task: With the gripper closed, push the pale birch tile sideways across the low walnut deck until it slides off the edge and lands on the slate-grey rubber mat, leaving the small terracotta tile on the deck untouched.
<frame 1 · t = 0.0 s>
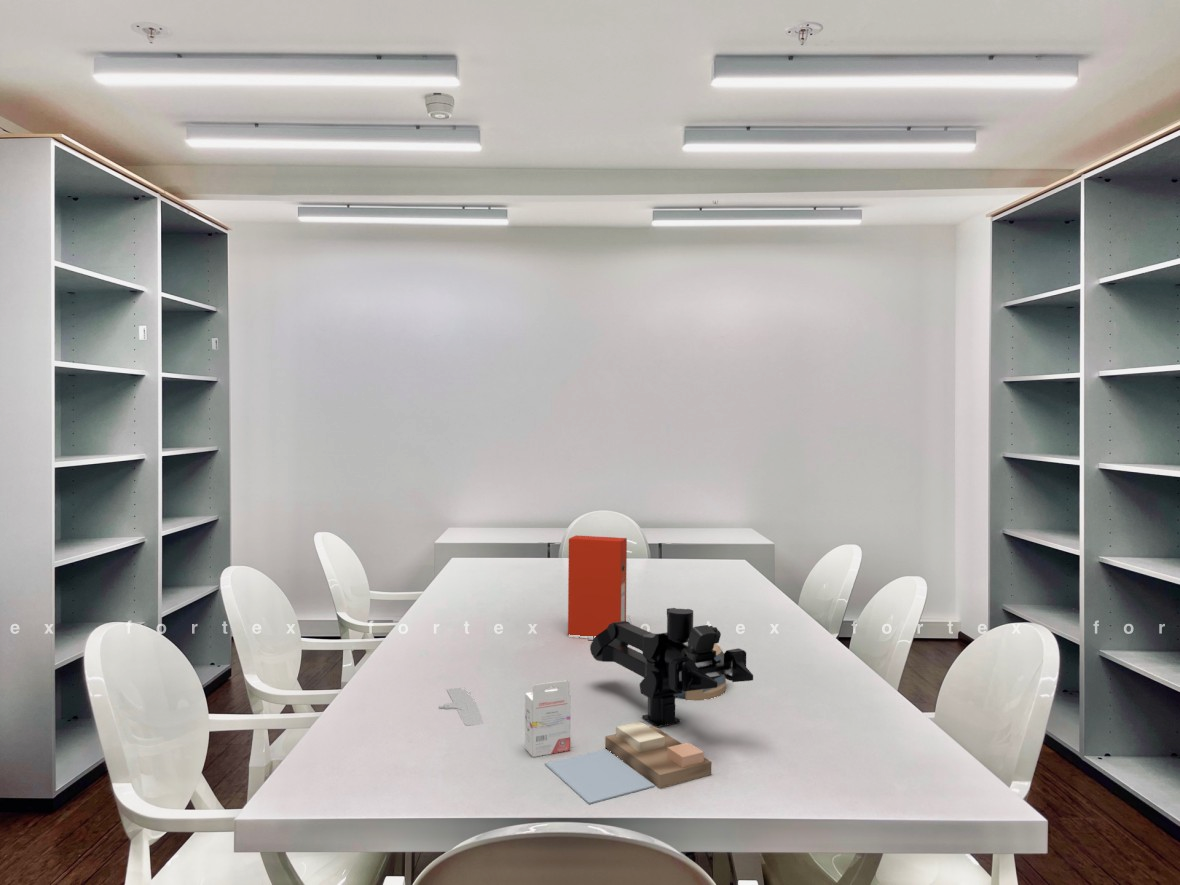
hand: (734, 681, 148), 17 cm above the table, tool horizontal, fingers open, 9 cm apart
grey flat piece: (487, 705, 181), on the table
ink cartridge box: (547, 750, 154), on the table
terracotta tile: (685, 759, 144), point 2 cm above the table, touching deck
file binder: (596, 637, 241), on the table
alarm clock: (686, 688, 194), on the table
mat: (597, 775, 143), on the table
deck: (656, 760, 150), on the table
birch tile: (639, 741, 153), point 2 cm above the table, touching deck
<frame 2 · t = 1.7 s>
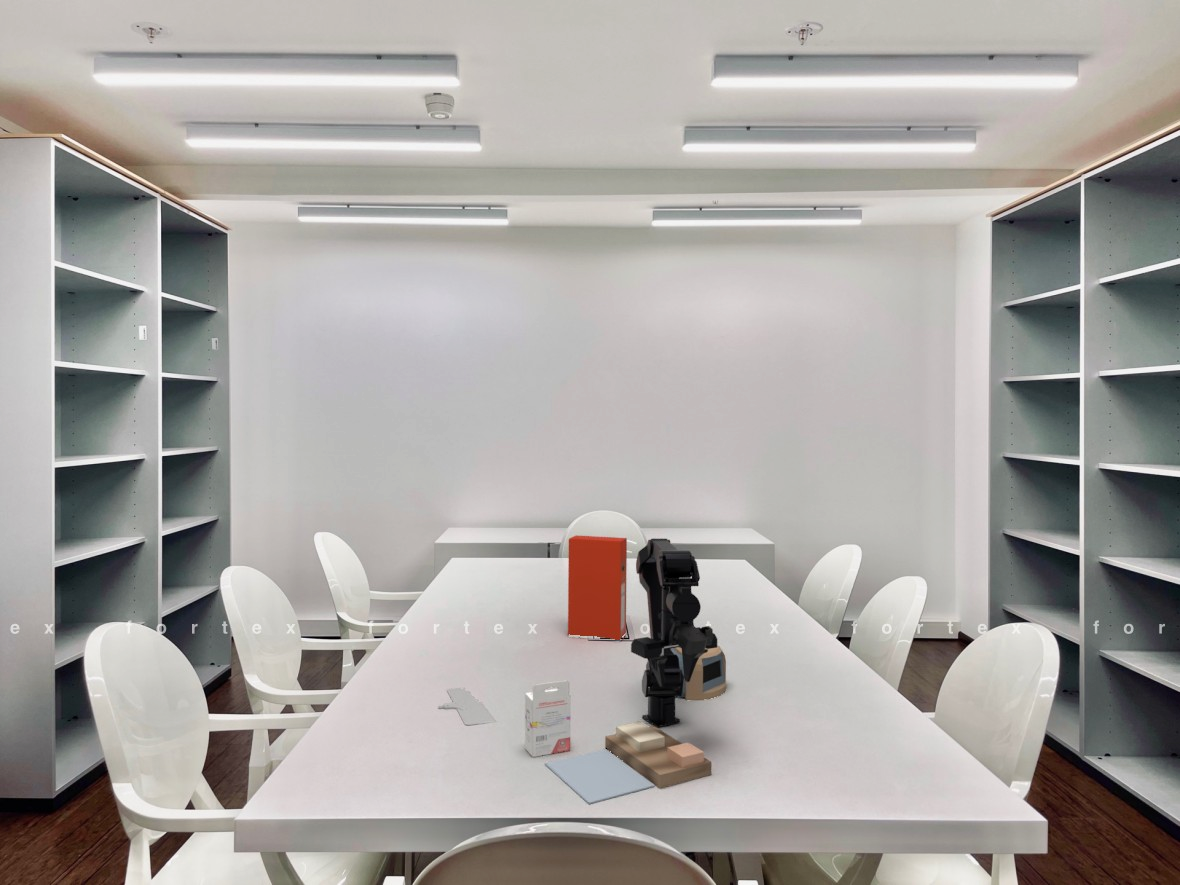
hand: (674, 683, 157), 13 cm above the table, tool pointing down, fingers open, 6 cm apart
nothing on the table moved.
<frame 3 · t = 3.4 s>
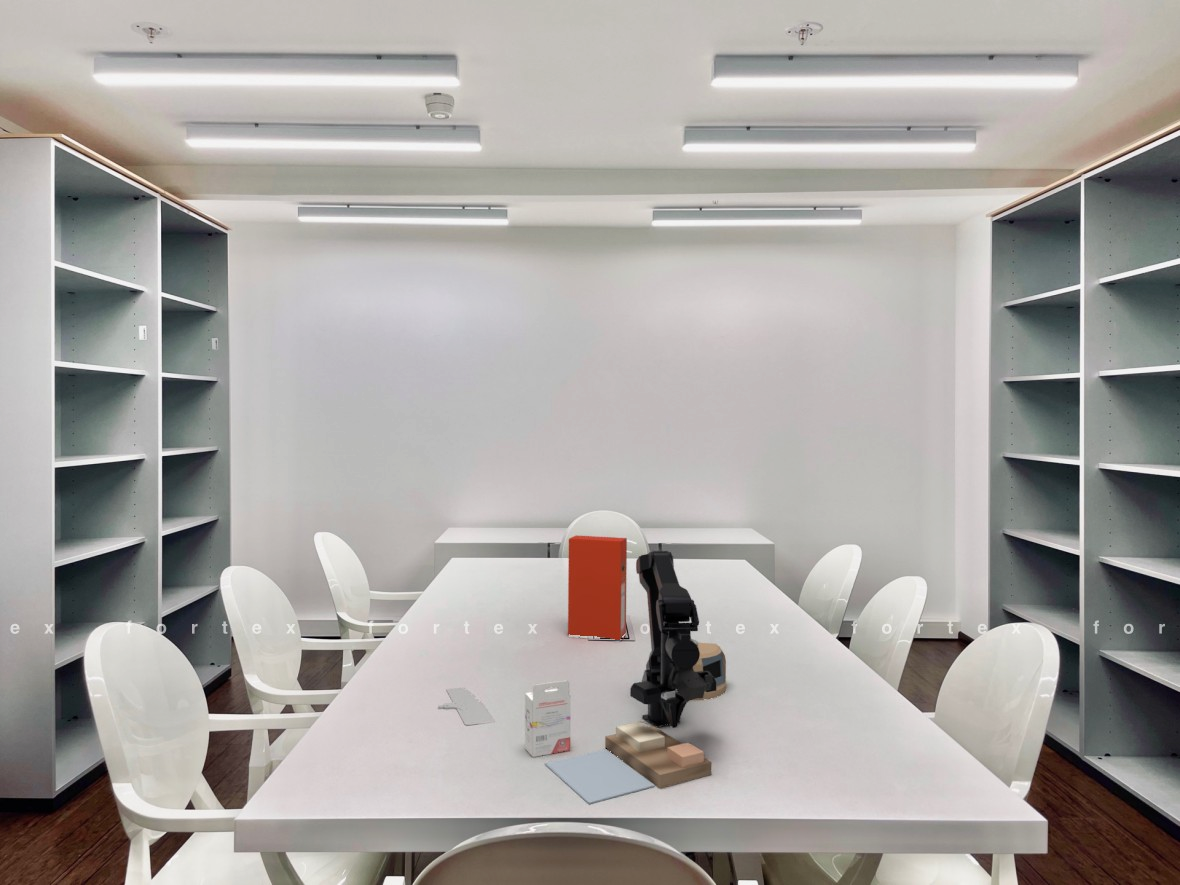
hand: (673, 727, 157), 4 cm above the table, tool pointing down, fingers closed
nothing on the table moved.
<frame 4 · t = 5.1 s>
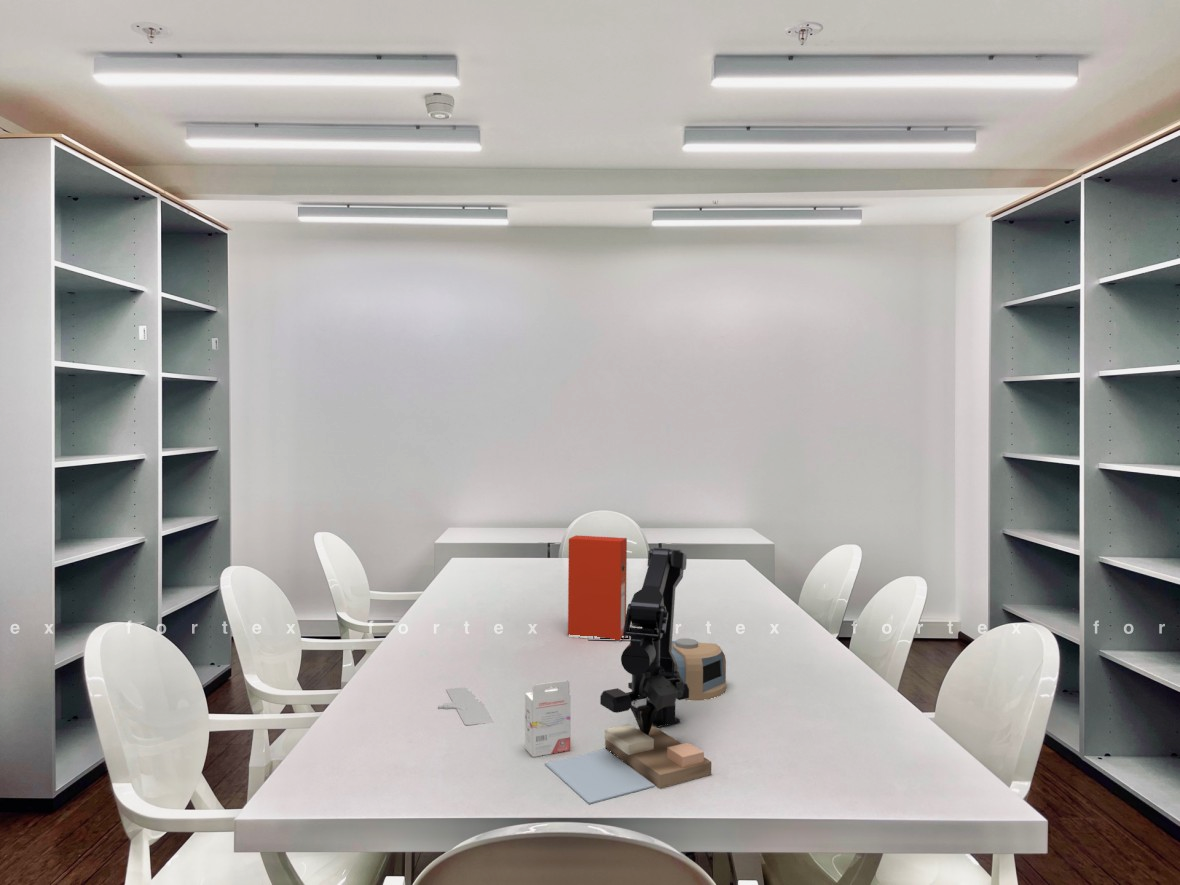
hand: (645, 735, 153), 3 cm above the table, tool pointing down, fingers closed
birch tile: (628, 743, 152), point 3 cm above the table, touching gripper
everything else where it was.
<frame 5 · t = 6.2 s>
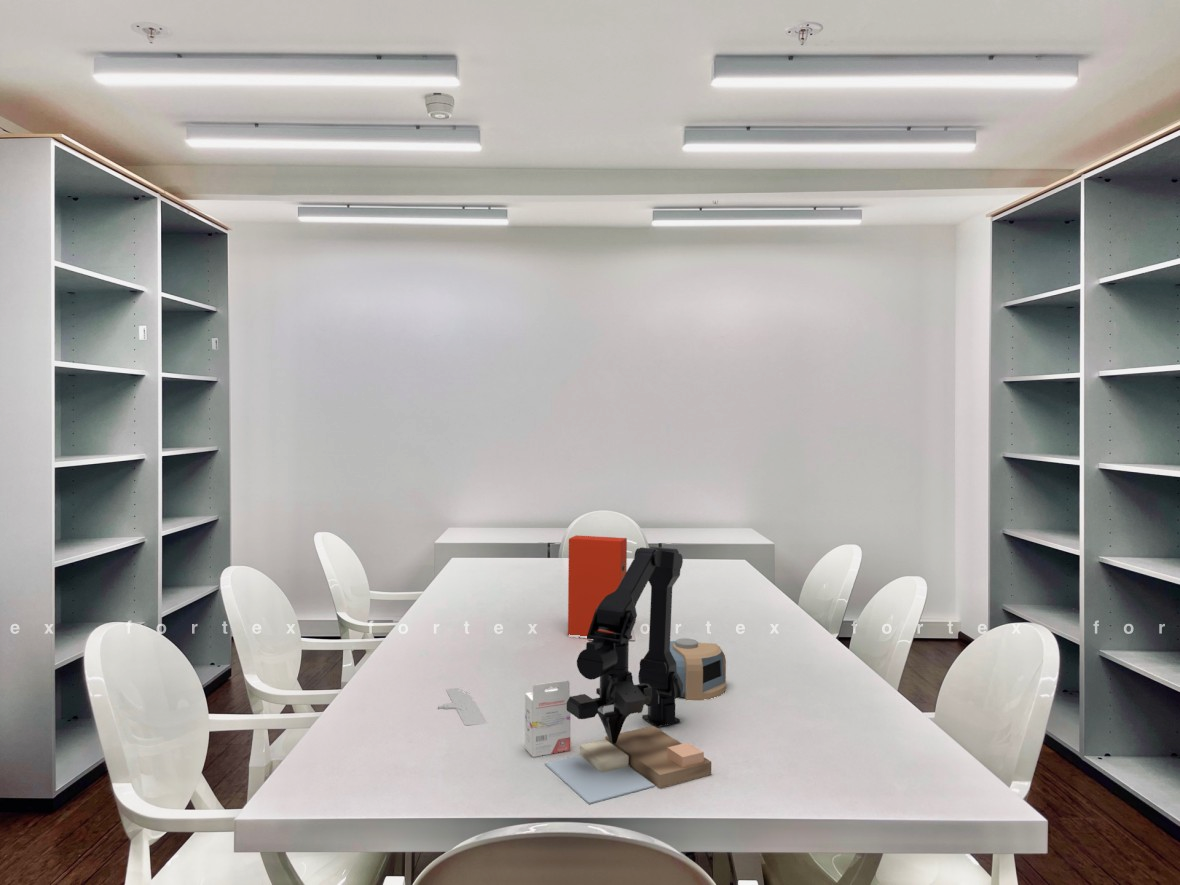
hand: (613, 743, 150), 3 cm above the table, tool pointing down, fingers closed
birch tile: (603, 760, 149), resting on mat
everything else where it was.
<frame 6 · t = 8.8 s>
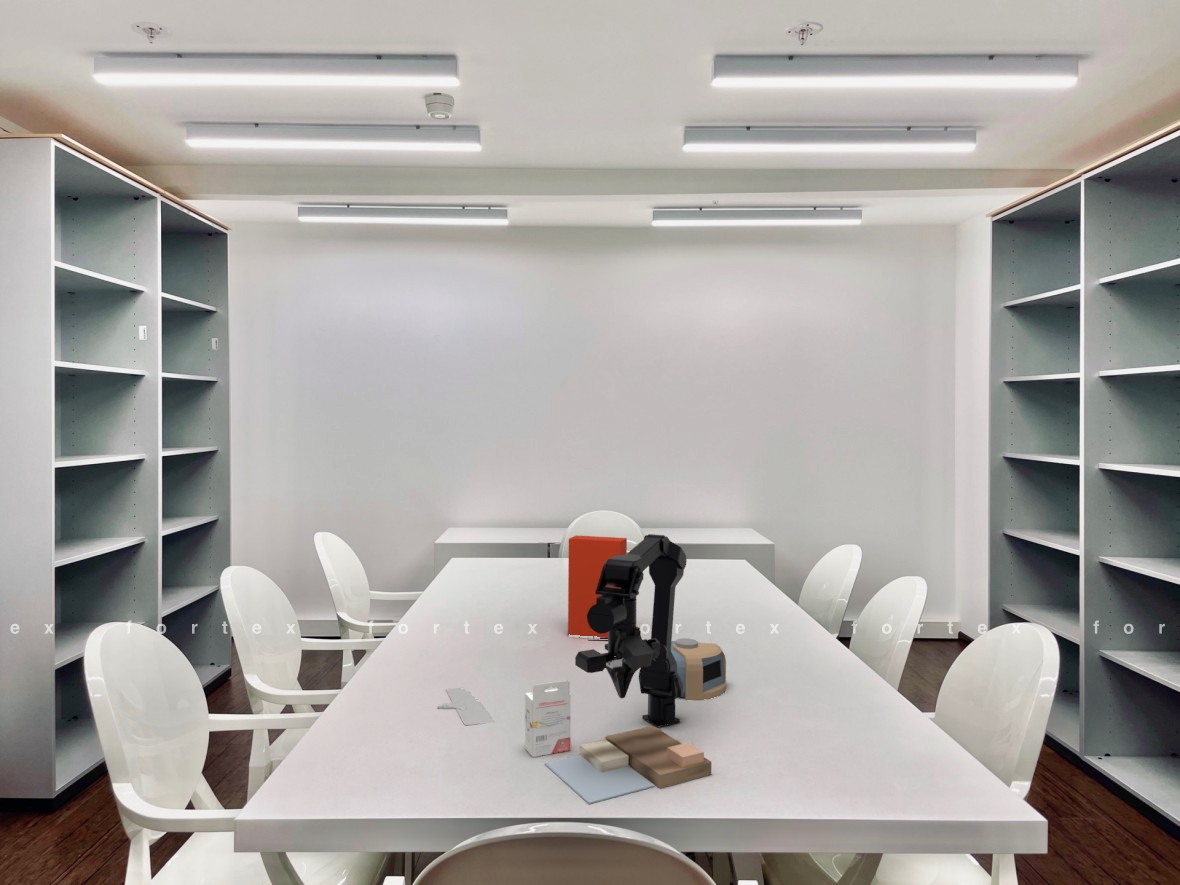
hand: (621, 697, 151), 12 cm above the table, tool pointing down, fingers closed
nothing on the table moved.
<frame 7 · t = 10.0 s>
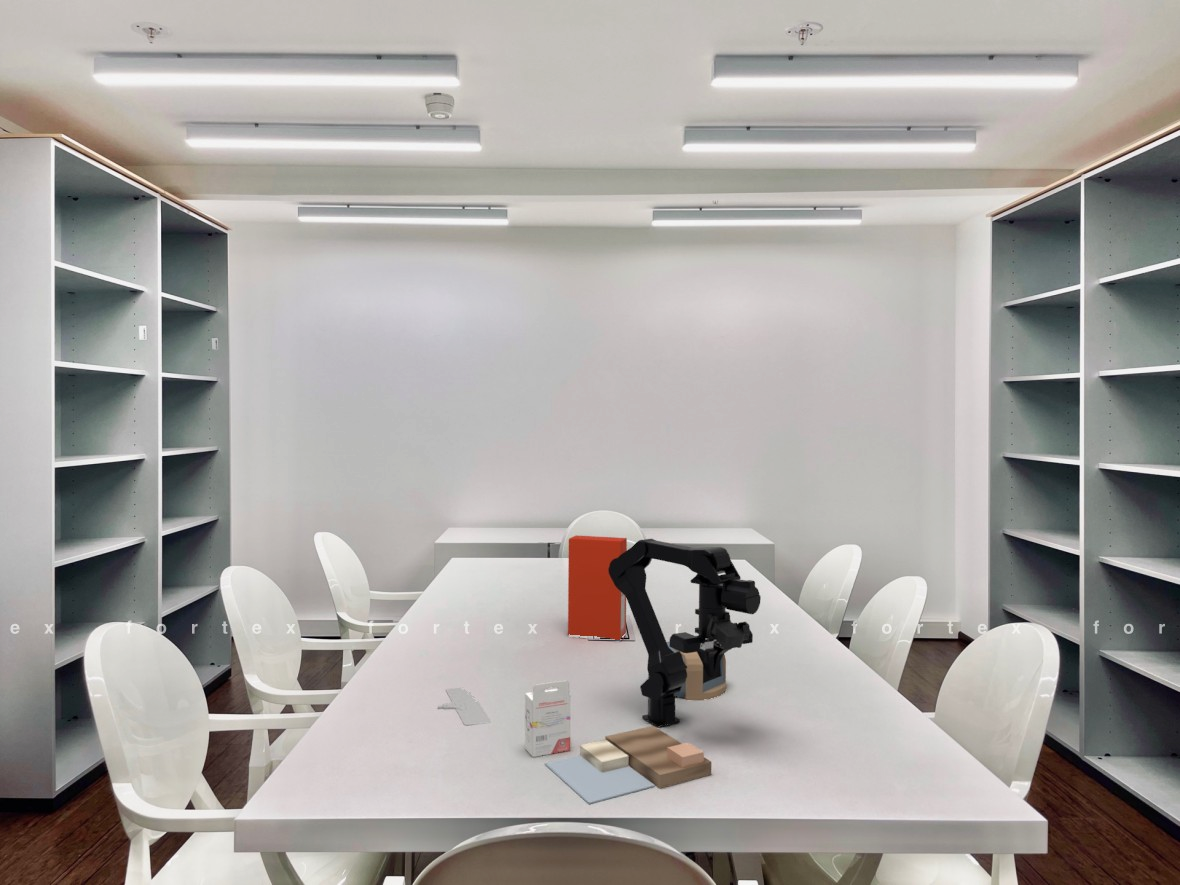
hand: (711, 677, 161), 13 cm above the table, tool pointing down, fingers closed
nothing on the table moved.
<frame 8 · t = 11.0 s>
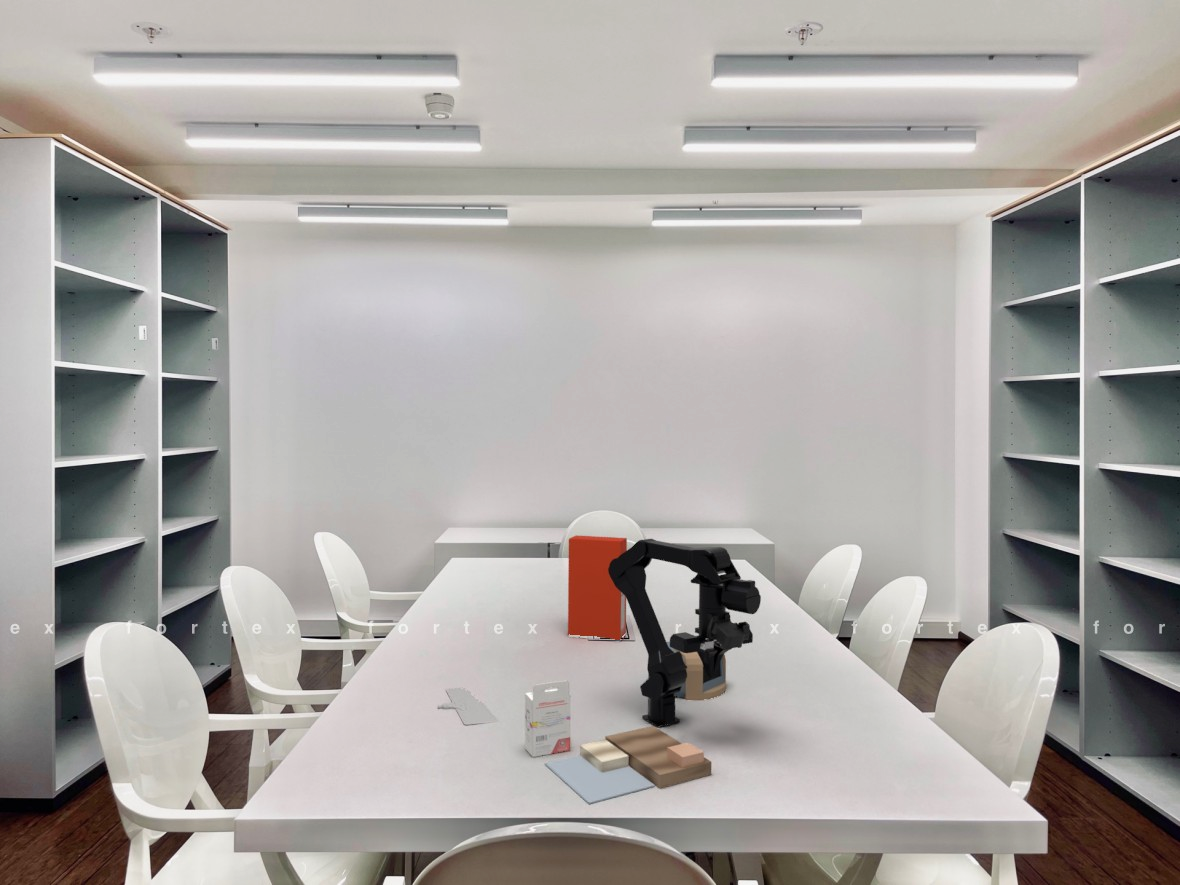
hand: (711, 677, 161), 13 cm above the table, tool pointing down, fingers closed
nothing on the table moved.
at the end: birch tile resting on mat; birch tile inside the target area on the mat (6.1 cm from its centre), point 0.3 cm above the mat's base; terracotta tile moved 0.1 cm from its start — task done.
